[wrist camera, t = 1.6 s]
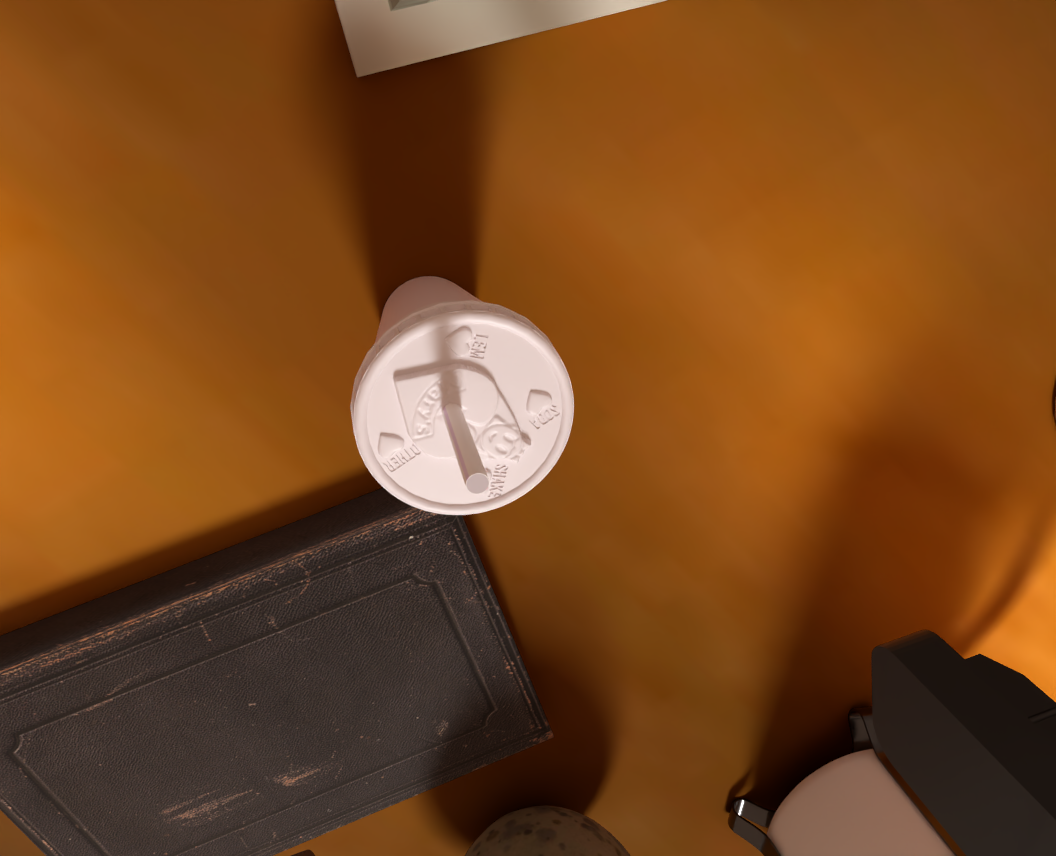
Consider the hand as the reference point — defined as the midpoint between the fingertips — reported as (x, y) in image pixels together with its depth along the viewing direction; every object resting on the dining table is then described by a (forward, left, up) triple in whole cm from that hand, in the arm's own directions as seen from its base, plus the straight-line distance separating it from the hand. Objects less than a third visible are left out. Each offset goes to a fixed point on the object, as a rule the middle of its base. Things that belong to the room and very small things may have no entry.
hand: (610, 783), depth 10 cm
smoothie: (0, 0, -22) cm, 22 cm away
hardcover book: (+12, +15, -23) cm, 30 cm away
